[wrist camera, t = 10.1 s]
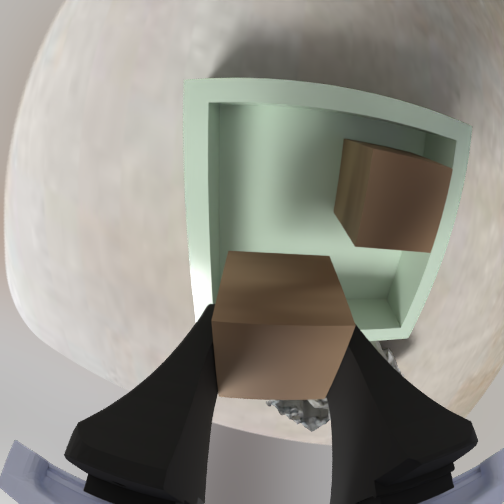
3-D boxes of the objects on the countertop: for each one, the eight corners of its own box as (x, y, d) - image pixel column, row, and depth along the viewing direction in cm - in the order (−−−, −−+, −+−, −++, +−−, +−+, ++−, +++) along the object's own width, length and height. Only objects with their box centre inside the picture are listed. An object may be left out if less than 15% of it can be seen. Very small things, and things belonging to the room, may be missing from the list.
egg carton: (369, 316, 19) (385, 356, 15) (399, 358, 21) (412, 392, 18) (260, 375, 22) (259, 414, 19) (306, 404, 25) (309, 438, 21)
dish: (435, 119, 11) (472, 126, 8) (390, 304, 18) (407, 338, 15) (203, 87, 12) (183, 80, 9) (207, 299, 18) (198, 336, 15)
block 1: (329, 255, 11) (355, 325, 7) (313, 328, 12) (324, 398, 9) (228, 250, 11) (211, 320, 7) (229, 325, 13) (218, 396, 9)
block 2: (410, 152, 12) (452, 168, 9) (397, 219, 14) (430, 252, 10) (343, 138, 12) (373, 149, 9) (333, 212, 14) (355, 246, 11)
